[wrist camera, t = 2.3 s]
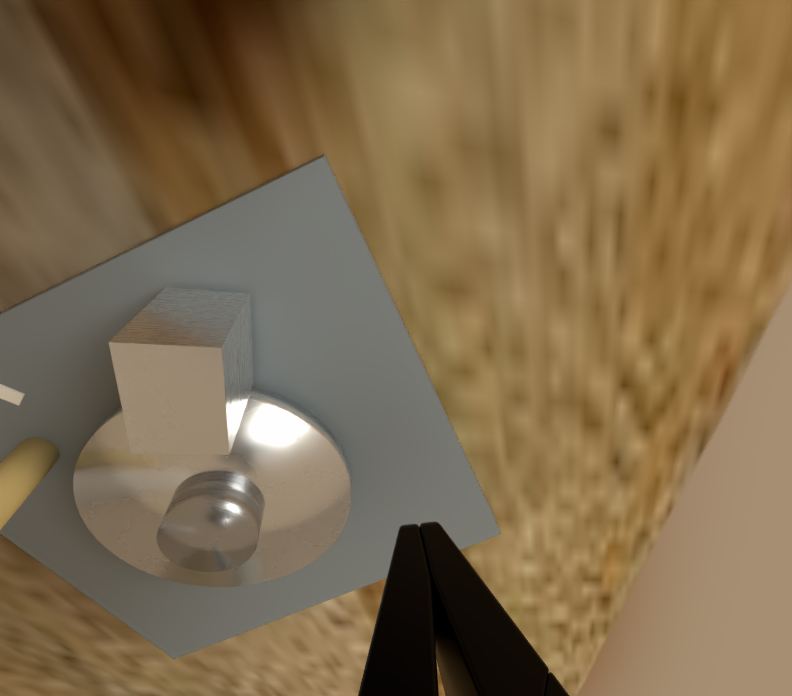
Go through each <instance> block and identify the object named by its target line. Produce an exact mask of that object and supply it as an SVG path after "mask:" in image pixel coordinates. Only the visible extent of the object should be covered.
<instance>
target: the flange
mask: <svg viewBox="0 0 792 696" xmlns="http://www.w3.org/2000/svg"><path fill="white" fill-rule="evenodd" d="M109 347H110V352H111V357H112V362H113V367H114V371H115V376H116V381H117V386H118V391H119V396H120V401H121V407H120V408H118V409H117V410H115V411H114V412H113V413H112V414H111V415H110V416H109V417H108V418H107V419H106V420H105V421H104V422H103V423H102V424H101V425H100V427H99V428H98V429H97V431H96V432H95V433H94V434H93V436H92V437H91V438H90V440H89V441H88V442H87V444H86V445H85V447H84V448H83V450H82V451H81V454H80V456H79V458H78V461H77V463H76V467H75V471H74V476H73V492H74V497H75V502H76V506H77V508H78V511H79V513H80V516H81V518H82V519H83V521H84V523H85V524H86V526H87V528H88V529H89V530H90V532H91V533H92V534H93V535H94V536H95V538H96V539H97V540H98V541H99V542H100V543H101V544H102V545H103V546H105V547H106V548H107V549H108V550H109V551H110V552H112V553H113V554H114V555H116V556H117V557H119V558H120V559H122V560H123V561H125V562H127V563H128V564H130V565H132V566H134V567H136V568H138V569H140V570H142V571H145V572H147V573H149V574H152V575H155V576H158V577H161V578H163V579H167V580H171V581H175V582H179V583H185V584H190V585H197V586H209V587H233V586H245V585H251V584H258V583H262V582H266V581H270V580H274V579H277V578H280V577H283V576H286V575H288V574H290V573H293V572H295V571H297V570H299V569H301V568H303V567H305V566H306V565H308V564H310V563H311V562H313V561H314V560H315V559H317V558H318V557H319V556H321V555H322V554H323V553H324V552H325V551H326V550H327V549H328V548H329V547H330V546H331V545H332V544H333V543H334V542H335V540H336V539H337V538H338V537H339V535H340V533H341V531H342V530H343V528H344V526H345V524H346V521H347V518H348V516H349V511H350V506H351V475H350V470H349V464H348V461H347V458H346V455H345V453H344V451H343V449H342V447H341V445H340V443H339V442H338V440H337V439H336V437H335V436H334V435H333V433H332V432H331V431H330V429H329V428H328V427H327V426H326V425H325V424H324V423H323V422H322V421H321V420H320V419H319V418H317V417H316V416H315V415H313V414H312V413H311V412H309V411H308V410H307V409H305V408H304V407H302V406H300V405H299V404H297V403H295V402H293V401H292V400H290V399H288V398H285V397H283V396H281V395H279V394H276V393H274V392H271V391H268V390H265V389H261V388H258V387H255V386H252V385H253V356H252V329H251V302H250V293H242V292H228V291H213V290H199V289H184V288H170V287H166V288H164V289H163V290H162V291H161V292H160V293H159V294H158V295H157V296H156V297H155V298H154V299H153V300H152V301H151V302H150V303H149V304H148V305H147V306H146V307H145V308H144V309H143V310H142V311H141V312H139V313H138V314H137V315H136V316H135V317H134V318H133V319H132V320H131V321H130V322H129V323H128V324H127V325H126V326H125V327H124V328H123V329H122V330H121V331H120V332H119V333H118V334H117V335H116V336H114V337H113V338H112V339H111V340H110V341H109Z"/></svg>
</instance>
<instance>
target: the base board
mask: <svg viewBox="0 0 792 696" xmlns="http://www.w3.org/2000/svg"><path fill="white" fill-rule="evenodd" d="M166 287H170V288H184V289H199V290H213V291H228V292H242V293H250V302H251V329H252V356H253V385H252V386H255V387H258V388H261V389H265V390H268V391H271V392H274V393H276V394H279V395H281V396H283V397H285V398H288V399H290V400H292V401H293V402H295V403H297V404H299V405H300V406H302V407H304V408H305V409H307V410H308V411H309V412H311V413H312V414H313V415H315V416H316V417H317V418H319V419H320V420H321V421H322V422H323V423H324V424H325V425H326V426H327V427H328V428H329V429H330V431H331V432H332V433H333V435H334V436H335V437H336V439H337V440H338V442H339V443H340V445H341V447H342V449H343V451H344V453H345V455H346V458H347V461H348V464H349V470H350V475H351V506H350V511H349V516H348V518H347V521H346V524H345V526H344V528H343V530H342V531H341V533H340V535H339V537H338V538H337V539H336V540H335V542H334V543H333V544H332V545H331V546H330V547H329V548H328V549H327V550H326V551H325V552H324V553H323V554H322V555H321V556H319V557H318V558H317V559H315V560H314V561H313V562H311V563H310V564H308V565H306V566H305V567H303V568H301V569H299V570H297V571H295V572H293V573H290V574H288V575H286V576H283V577H280V578H277V579H274V580H270V581H266V582H262V583H258V584H251V585H245V586H233V587H209V586H197V585H190V584H185V583H179V582H175V581H171V580H167V579H163V578H161V577H158V576H155V575H152V574H149V573H147V572H145V571H142V570H140V569H138V568H136V567H134V566H132V565H130V564H128V563H127V562H125V561H123V560H122V559H120V558H119V557H117V556H116V555H114V554H113V553H112V552H110V551H109V550H108V549H107V548H106V547H105V546H103V545H102V544H101V543H100V542H99V541H98V540H97V539H96V538H95V536H94V535H93V534H92V533H91V532H90V530H89V529H88V528H87V526H86V524H85V523H84V521H83V519H82V518H81V516H80V513H79V511H78V508H77V506H76V502H75V497H74V492H73V476H74V471H75V467H76V463H77V461H78V458H79V456H80V454H81V451H82V450H83V448H84V447H85V445H86V444H87V442H88V441H89V440H90V438H91V437H92V436H93V434H94V433H95V432H96V431H97V429H98V428H99V427H100V425H101V424H102V423H103V422H104V421H105V420H106V419H107V418H108V417H109V416H110V415H111V414H112V413H113V412H114V411H115V410H117V409H118V408H120V407H121V401H120V396H119V391H118V386H117V381H116V376H115V371H114V367H113V362H112V357H111V352H110V347H109V341H110V340H111V339H112V338H113V337H114V336H116V335H117V334H118V333H119V332H120V331H121V330H122V329H123V328H124V327H125V326H126V325H127V324H128V323H129V322H130V321H131V320H132V319H133V318H134V317H135V316H136V315H137V314H138V313H139V312H141V311H142V310H143V309H144V308H145V307H146V306H147V305H148V304H149V303H150V302H151V301H152V300H153V299H154V298H155V297H156V296H157V295H158V294H159V293H160V292H161V291H162V290H163V289H164V288H166ZM434 521H436V522H438V523H439V524H440V525H441V526H442V527H443V529H444V530H445V531H446V533H447V534H448V535H449V537H450V538H451V539H452V540H453V542H454V543H455V544H456V546H457V547H458V548H459V550H461V549H463V548H466V547H468V546H471V545H474V544H476V543H479V542H482V541H484V540H487V539H489V538H492V537H495V536H497V535H500V534H501V533H500V530H499V528H498V525H497V522H496V520H495V517H494V515H493V512H492V510H491V508H490V506H489V504H488V502H487V500H486V497H485V495H484V493H483V491H482V489H481V487H480V485H479V482H478V480H477V478H476V476H475V474H474V472H473V470H472V468H471V465H470V463H469V461H468V459H467V457H466V455H465V453H464V450H463V448H462V446H461V444H460V442H459V440H458V438H457V435H456V433H455V431H454V429H453V427H452V425H451V423H450V421H449V418H448V416H447V414H446V412H445V410H444V408H443V406H442V403H441V401H440V399H439V397H438V395H437V393H436V391H435V388H434V386H433V384H432V382H431V380H430V378H429V376H428V374H427V371H426V369H425V367H424V365H423V363H422V361H421V359H420V356H419V354H418V352H417V350H416V348H415V346H414V344H413V342H412V339H411V337H410V335H409V333H408V331H407V329H406V327H405V324H404V322H403V320H402V318H401V316H400V314H399V312H398V309H397V307H396V305H395V303H394V301H393V299H392V297H391V295H390V292H389V290H388V288H387V286H386V284H385V282H384V280H383V277H382V275H381V273H380V271H379V269H378V267H377V265H376V262H375V260H374V258H373V256H372V254H371V252H370V250H369V248H368V245H367V243H366V241H365V239H364V237H363V235H362V233H361V230H360V228H359V226H358V224H357V222H356V220H355V218H354V216H353V213H352V211H351V209H350V207H349V205H348V203H347V201H346V198H345V196H344V194H343V192H342V190H341V188H340V186H339V183H338V181H337V179H336V177H335V175H334V173H333V171H332V169H331V166H330V164H329V162H328V160H327V158H326V156H325V154H323V155H321V156H319V157H317V158H315V159H313V160H311V161H309V162H307V163H305V164H303V165H301V166H299V167H297V168H295V169H293V170H291V171H289V172H287V173H285V174H282V175H280V176H278V177H276V178H274V179H272V180H270V181H268V182H266V183H264V184H262V185H260V186H258V187H256V188H254V189H252V190H250V191H248V192H246V193H244V194H242V195H239V196H237V197H235V198H233V199H231V200H229V201H227V202H225V203H223V204H221V205H219V206H217V207H215V208H213V209H211V210H209V211H207V212H205V213H203V214H201V215H199V216H196V217H194V218H192V219H190V220H188V221H186V222H184V223H182V224H180V225H178V226H176V227H174V228H172V229H170V230H168V231H166V232H164V233H162V234H160V235H158V236H156V237H154V238H151V239H149V240H147V241H145V242H143V243H141V244H139V245H137V246H135V247H133V248H131V249H129V250H127V251H125V252H123V253H121V254H119V255H117V256H115V257H113V258H111V259H108V260H106V261H104V262H102V263H100V264H98V265H96V266H94V267H92V268H90V269H88V270H86V271H84V272H82V273H80V274H78V275H76V276H74V277H72V278H70V279H68V280H66V281H63V282H61V283H59V284H57V285H55V286H53V287H51V288H49V289H47V290H45V291H43V292H41V293H39V294H37V295H35V296H33V297H31V298H29V299H27V300H25V301H23V302H20V303H18V304H16V305H14V306H12V307H10V308H8V309H6V310H4V311H2V312H0V534H1V535H3V536H4V537H6V538H7V539H8V540H10V541H11V542H12V543H14V544H15V545H17V546H18V547H19V548H21V549H22V550H24V551H25V552H26V553H28V554H29V555H30V556H32V557H33V558H35V559H36V560H37V561H39V562H40V563H42V564H43V565H44V566H46V567H47V568H48V569H50V570H51V571H53V572H54V573H55V574H57V575H58V576H60V577H61V578H62V579H64V580H65V581H66V582H68V583H69V584H71V585H72V586H73V587H75V588H76V589H78V590H79V591H80V592H82V593H83V594H85V595H86V596H87V597H89V598H90V599H91V600H93V601H94V602H96V603H97V604H98V605H100V606H101V607H103V608H104V609H105V610H107V611H108V612H109V613H111V614H112V615H114V616H115V617H116V618H118V619H119V620H121V621H122V622H123V623H125V624H126V625H127V626H129V627H130V628H132V629H133V630H134V631H136V632H137V633H139V634H140V635H141V636H143V637H144V638H145V639H147V640H148V641H150V642H151V643H152V644H154V645H155V646H157V647H158V648H159V649H161V650H162V651H163V652H165V653H166V654H168V655H169V656H170V657H172V658H173V659H176V658H178V657H181V656H183V655H186V654H189V653H191V652H194V651H197V650H199V649H202V648H204V647H207V646H210V645H212V644H215V643H217V642H220V641H223V640H225V639H228V638H231V637H233V636H236V635H238V634H241V633H244V632H246V631H249V630H251V629H254V628H257V627H259V626H262V625H265V624H267V623H270V622H272V621H275V620H278V619H280V618H283V617H285V616H288V615H291V614H293V613H296V612H298V611H301V610H304V609H306V608H309V607H312V606H314V605H317V604H319V603H322V602H325V601H327V600H330V599H332V598H335V597H338V596H340V595H343V594H346V593H348V592H351V591H353V590H356V589H359V588H361V587H364V586H366V585H369V584H372V583H374V582H377V581H380V580H382V579H385V578H387V575H388V571H389V567H390V563H391V559H392V555H393V550H394V546H395V542H396V538H397V534H398V530H399V527H400V526H401V525H407V524H418V526H419V525H420V524H421V523H425V522H434Z"/></svg>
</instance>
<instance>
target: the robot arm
mask: <svg viewBox="0 0 792 696" xmlns="http://www.w3.org/2000/svg"><path fill="white" fill-rule="evenodd" d="M436 659H437V662H436ZM437 663H438V667H439V671H440V675H441V679H442V683H443V687H444V691H445V695H446V696H569V695H568V693H567V692H566V691H565V689H564V688H563V687H562V685H561V684H560V683H559V681H558V680H557V679H556V677H555V676H554V675H553V673H551V672H550V673H549V674H548V672H549V669H548V667H547V666H546V664H545V663H544V662H543V660H542V659H541V658H540V656H539V655H538V654H537V652H536V651H535V650H534V648H533V647H532V646H531V644H530V643H529V642H528V640H527V639H526V638H525V636H524V635H523V634H522V632H521V631H520V630H519V628H518V627H517V626H516V624H515V623H514V622H513V620H512V619H511V618H510V616H509V615H508V614H507V612H506V611H505V610H504V608H503V607H502V606H501V604H500V603H499V602H498V600H497V599H496V598H495V596H494V595H493V594H492V592H491V591H490V590H489V588H488V587H487V586H486V584H485V583H484V582H483V580H482V579H481V578H480V576H479V575H478V574H477V572H476V571H475V570H474V568H473V567H472V566H471V564H470V563H469V562H468V560H467V559H466V558H465V556H464V555H463V554H462V552H461V551H460V550H459V548H458V547H457V546H456V544H455V543H454V542H453V540H452V539H451V538H450V537H449V535H448V534H447V533H446V531H445V530H444V529H443V527H442V526H441V525H440V524H439V523H438V522H436V521H434V522H425V523H421V524H420V525H419V526H418V524H407V525H401V526H400V527H399V530H398V534H397V538H396V542H395V546H394V550H393V555H392V559H391V563H390V567H389V571H388V575H387V579H386V583H385V587H384V592H383V596H382V600H381V604H380V608H379V612H378V616H377V620H376V624H375V629H374V633H373V637H372V641H371V645H370V649H369V653H368V657H367V662H366V666H365V670H364V674H363V678H362V682H361V686H360V690H359V694H358V696H439V695H438V678H437Z"/></svg>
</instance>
